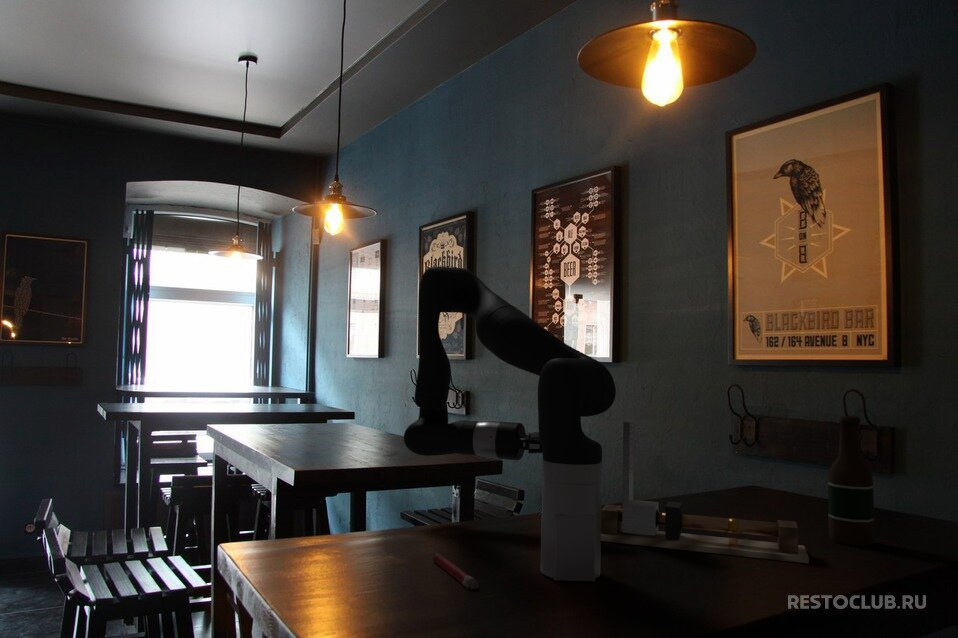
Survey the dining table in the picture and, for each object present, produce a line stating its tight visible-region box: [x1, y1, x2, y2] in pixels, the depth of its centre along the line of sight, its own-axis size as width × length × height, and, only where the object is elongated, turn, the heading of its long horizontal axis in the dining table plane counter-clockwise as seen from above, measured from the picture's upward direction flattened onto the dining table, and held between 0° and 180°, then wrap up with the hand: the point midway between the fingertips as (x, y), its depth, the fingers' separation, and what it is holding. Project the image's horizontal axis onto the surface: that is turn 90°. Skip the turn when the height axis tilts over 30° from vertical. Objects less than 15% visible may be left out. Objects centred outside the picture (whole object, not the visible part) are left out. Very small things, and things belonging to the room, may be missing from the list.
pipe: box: [618, 508, 779, 538], centre depth 130 cm, size 32×3×3 cm, turn 70°
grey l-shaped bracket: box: [621, 419, 659, 535], centre depth 134 cm, size 6×6×20 cm
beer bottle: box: [827, 415, 875, 547], centre depth 137 cm, size 8×8×24 cm
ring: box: [664, 501, 682, 539], centre depth 132 cm, size 2×6×6 cm, turn 160°
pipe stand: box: [601, 504, 810, 564], centre depth 130 cm, size 37×9×5 cm, turn 70°
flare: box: [432, 552, 480, 590], centre depth 108 cm, size 2×15×2 cm, turn 23°
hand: (583, 446), depth 139 cm, fingers closed
